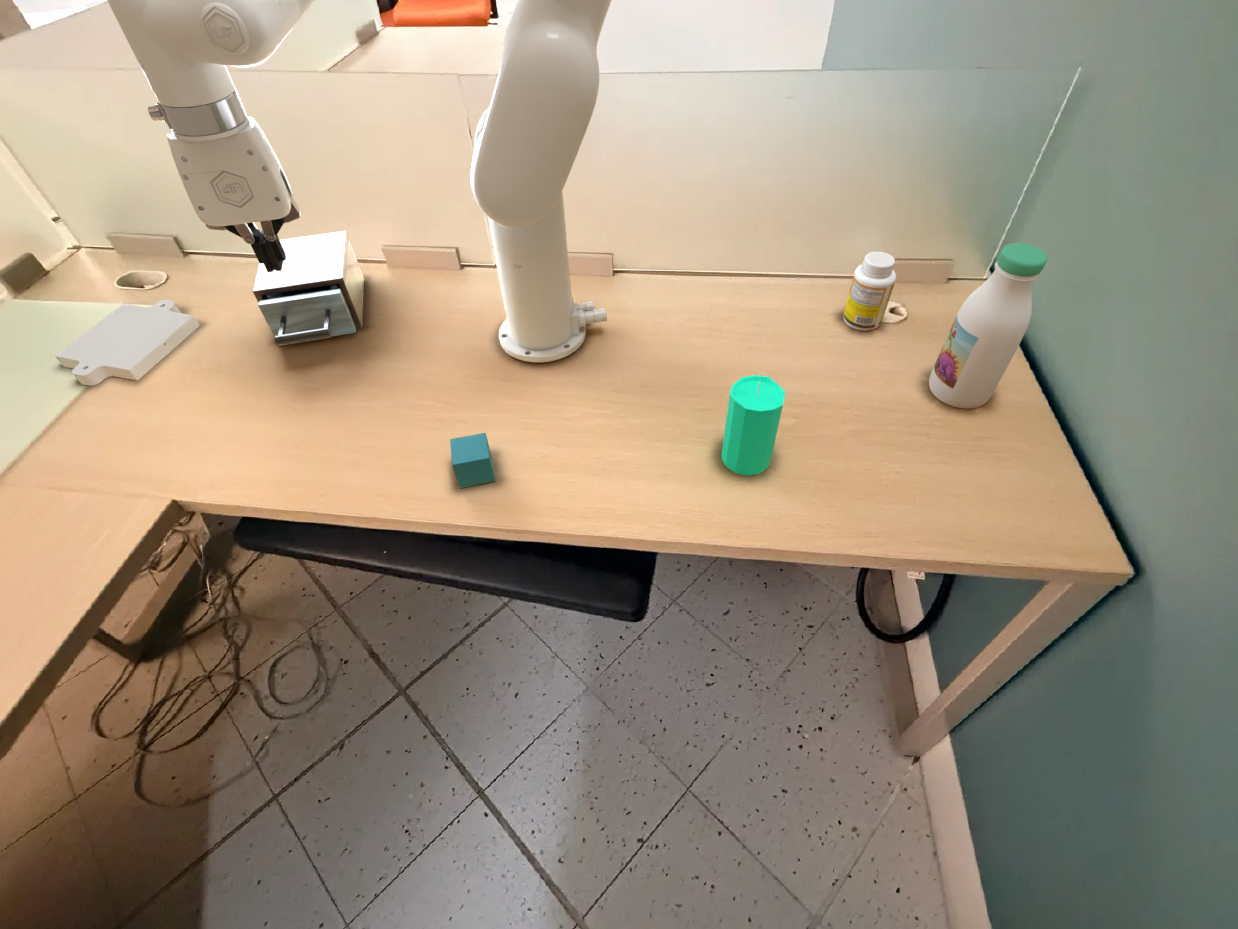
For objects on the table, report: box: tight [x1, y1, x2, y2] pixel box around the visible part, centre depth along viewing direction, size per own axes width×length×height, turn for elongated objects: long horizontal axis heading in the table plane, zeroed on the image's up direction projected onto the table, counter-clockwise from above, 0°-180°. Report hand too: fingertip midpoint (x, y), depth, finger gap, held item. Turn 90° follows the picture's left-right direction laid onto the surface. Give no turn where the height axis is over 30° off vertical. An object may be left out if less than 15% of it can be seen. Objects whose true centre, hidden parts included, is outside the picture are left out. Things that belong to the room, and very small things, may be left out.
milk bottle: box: [928, 242, 1048, 409], centre depth 78 cm, size 8×8×20 cm
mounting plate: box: [54, 299, 201, 387], centre depth 96 cm, size 18×13×2 cm
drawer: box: [257, 284, 357, 347], centre depth 94 cm, size 18×11×7 cm, turn 14°
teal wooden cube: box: [449, 432, 496, 489], centre depth 77 cm, size 4×4×4 cm
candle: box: [720, 374, 786, 477], centre depth 74 cm, size 6×6×12 cm
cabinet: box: [252, 230, 365, 330], centre depth 98 cm, size 14×12×9 cm
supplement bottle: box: [842, 251, 897, 332], centre depth 92 cm, size 6×6×10 cm
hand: (276, 265), depth 83 cm, fingers closed
